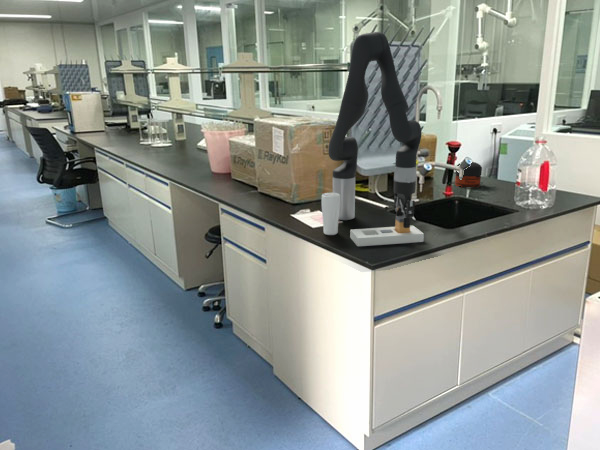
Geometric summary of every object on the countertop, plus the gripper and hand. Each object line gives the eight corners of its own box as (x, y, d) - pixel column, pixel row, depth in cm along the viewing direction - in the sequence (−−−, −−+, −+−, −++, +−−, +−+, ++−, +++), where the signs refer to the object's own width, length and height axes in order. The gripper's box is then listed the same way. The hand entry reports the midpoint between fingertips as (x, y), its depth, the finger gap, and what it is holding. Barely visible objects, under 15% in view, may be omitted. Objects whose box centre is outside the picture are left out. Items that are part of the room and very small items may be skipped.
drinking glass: (338, 230, 182) (338, 192, 178) (340, 236, 176) (341, 196, 172) (320, 230, 182) (320, 192, 178) (322, 236, 176) (322, 197, 171)
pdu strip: (350, 237, 174) (350, 228, 173) (412, 233, 178) (413, 224, 177) (357, 246, 165) (357, 237, 164) (423, 241, 168) (423, 232, 167)
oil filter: (470, 182, 261) (449, 184, 258) (472, 159, 258) (451, 161, 254) (485, 186, 249) (464, 188, 246) (487, 163, 246) (466, 165, 242)
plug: (394, 237, 174) (395, 216, 172) (405, 236, 175) (406, 215, 172) (398, 240, 170) (399, 219, 168) (409, 239, 171) (410, 218, 168)
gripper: (387, 175, 172) (386, 219, 177) (402, 184, 159) (399, 231, 163) (407, 174, 173) (405, 218, 178) (423, 182, 160) (420, 229, 165)
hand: (402, 224), depth 171 cm, fingers open, 7 cm apart
